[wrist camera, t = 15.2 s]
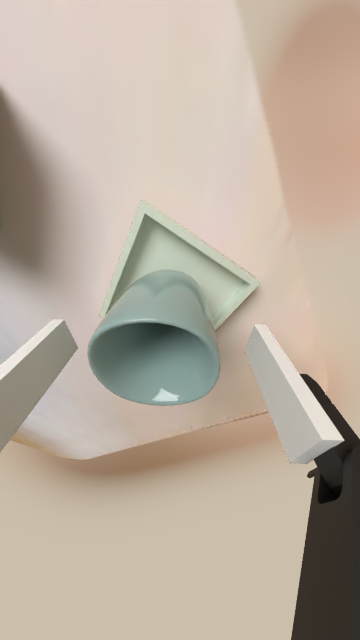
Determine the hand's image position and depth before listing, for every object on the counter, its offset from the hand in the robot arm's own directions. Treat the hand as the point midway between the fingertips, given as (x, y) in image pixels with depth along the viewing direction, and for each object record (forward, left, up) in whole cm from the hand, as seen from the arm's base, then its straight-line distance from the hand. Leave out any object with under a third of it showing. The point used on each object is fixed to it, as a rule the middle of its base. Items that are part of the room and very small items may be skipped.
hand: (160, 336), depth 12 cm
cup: (0, 0, -7) cm, 7 cm away
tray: (0, 0, -8) cm, 8 cm away
